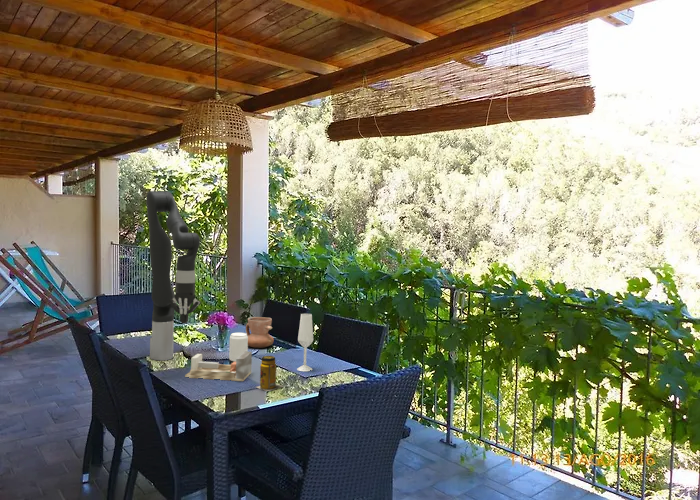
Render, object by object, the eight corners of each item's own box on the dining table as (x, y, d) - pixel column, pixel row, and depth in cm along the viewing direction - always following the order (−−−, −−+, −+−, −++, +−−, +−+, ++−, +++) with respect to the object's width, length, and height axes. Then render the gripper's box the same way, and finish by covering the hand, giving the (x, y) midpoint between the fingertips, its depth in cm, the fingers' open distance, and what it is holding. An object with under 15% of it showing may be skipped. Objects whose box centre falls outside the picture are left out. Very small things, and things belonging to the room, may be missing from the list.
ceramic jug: (281, 347, 276) (282, 319, 276) (259, 351, 265) (260, 322, 265) (257, 341, 288) (258, 314, 287) (235, 345, 277) (236, 317, 276)
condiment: (255, 387, 211) (255, 356, 211) (271, 382, 218) (272, 353, 217) (267, 391, 207) (268, 360, 206) (284, 387, 213) (285, 356, 212)
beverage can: (243, 363, 244) (243, 336, 243) (226, 361, 246) (226, 335, 245) (250, 358, 252) (250, 333, 251) (233, 357, 254) (234, 331, 253)
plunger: (191, 372, 223) (191, 357, 222) (197, 367, 230) (197, 353, 229) (215, 373, 222) (215, 359, 221) (220, 369, 229) (220, 355, 228)
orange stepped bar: (228, 373, 219) (228, 366, 219) (233, 368, 227) (233, 361, 226) (232, 374, 219) (233, 366, 219) (238, 368, 226) (238, 361, 226)
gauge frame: (184, 377, 220) (185, 355, 220) (195, 369, 232) (196, 348, 232) (243, 381, 218) (243, 359, 218) (251, 372, 230) (251, 351, 230)
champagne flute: (305, 366, 243) (307, 312, 241) (315, 369, 238) (317, 315, 237) (293, 368, 238) (295, 314, 237) (303, 372, 233) (305, 316, 232)
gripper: (165, 281, 221) (164, 323, 222) (197, 283, 220) (196, 325, 221) (173, 279, 229) (172, 320, 230) (204, 281, 227) (202, 322, 228)
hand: (184, 322), depth 225 cm, fingers closed
